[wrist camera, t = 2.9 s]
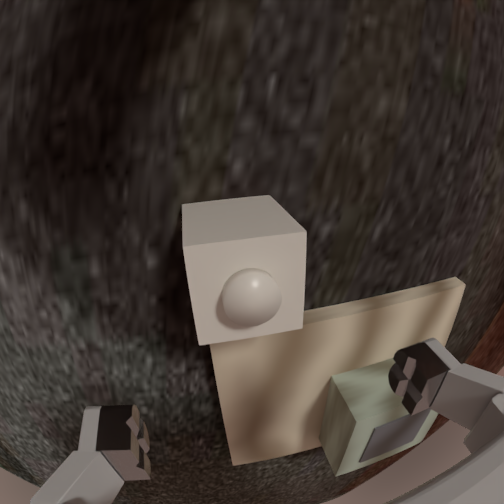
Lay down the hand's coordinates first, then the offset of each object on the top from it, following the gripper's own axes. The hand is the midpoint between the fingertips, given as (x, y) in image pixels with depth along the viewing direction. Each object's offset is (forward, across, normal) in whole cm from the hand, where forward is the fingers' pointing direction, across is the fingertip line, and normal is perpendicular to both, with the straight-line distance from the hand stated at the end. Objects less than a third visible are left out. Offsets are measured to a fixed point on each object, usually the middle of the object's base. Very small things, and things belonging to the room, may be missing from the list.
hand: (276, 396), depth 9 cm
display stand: (+12, -10, +15) cm, 21 cm away
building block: (+12, 0, 0) cm, 12 cm away
